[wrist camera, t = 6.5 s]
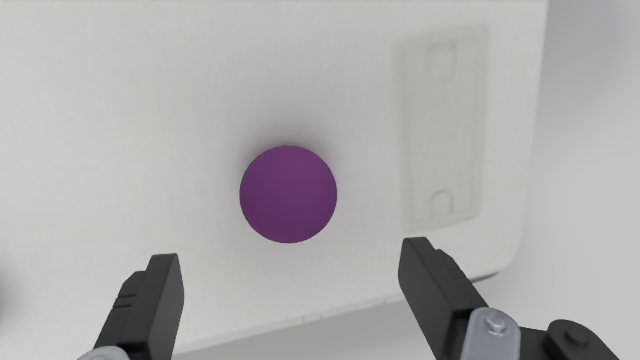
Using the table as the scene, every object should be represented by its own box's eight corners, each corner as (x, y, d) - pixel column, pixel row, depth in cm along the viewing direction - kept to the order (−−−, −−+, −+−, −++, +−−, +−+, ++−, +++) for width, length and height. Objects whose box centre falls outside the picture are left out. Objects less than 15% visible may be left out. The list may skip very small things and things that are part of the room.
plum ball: (330, 131, 20) (349, 168, 15) (326, 208, 22) (343, 260, 17) (238, 133, 19) (232, 172, 15) (244, 213, 21) (240, 267, 17)
